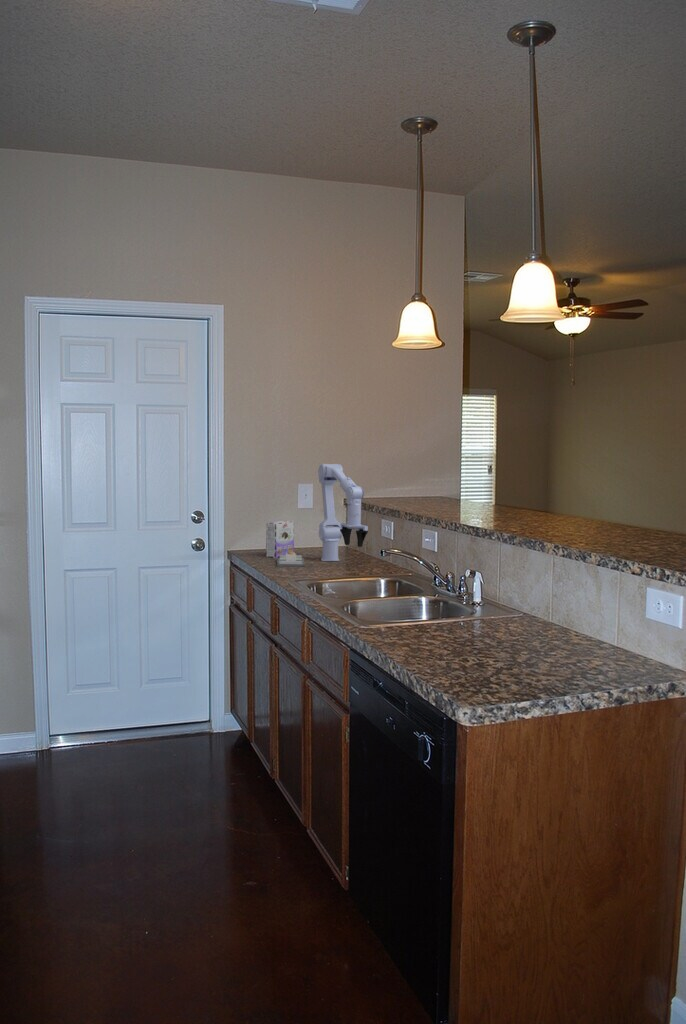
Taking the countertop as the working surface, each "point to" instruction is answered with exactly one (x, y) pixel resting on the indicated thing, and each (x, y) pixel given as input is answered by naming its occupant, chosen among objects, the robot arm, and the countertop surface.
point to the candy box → (279, 538)
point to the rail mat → (283, 562)
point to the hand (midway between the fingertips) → (353, 545)
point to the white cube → (290, 556)
